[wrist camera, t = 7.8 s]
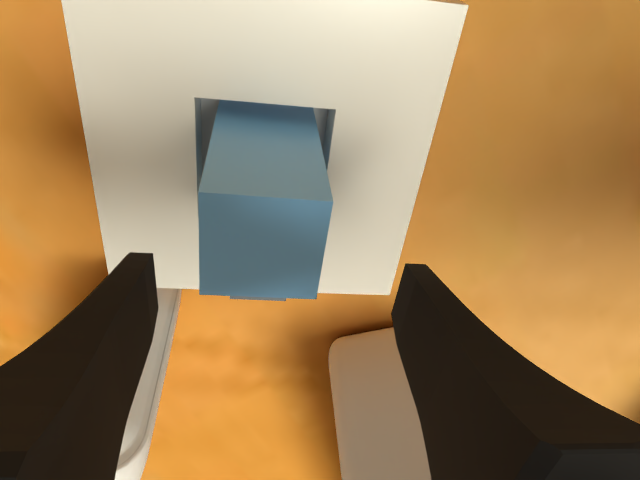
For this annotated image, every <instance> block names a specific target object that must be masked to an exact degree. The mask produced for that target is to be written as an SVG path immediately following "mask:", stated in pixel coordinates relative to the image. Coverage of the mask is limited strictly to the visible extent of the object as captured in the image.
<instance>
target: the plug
mask: <svg viewBox="0 0 640 480" xmlns="http://www.w3.org/2000/svg"><path fill="white" fill-rule="evenodd" d="M332 207H333V198H332V193H331V188H330V184H329V179H328V174H327V170H326V165H325V160H324V156H323V151H322V146H321V142H320V137H319V132H318V128H317V123H316V119H315V114H314V109H313V107H301V106H290V105H278V104H267V103H255V102H244V101H232V100H221V99H220V100H219V104H218V109H217V113H216V117H215V122H214V126H213V130H212V135H211V139H210V143H209V148H208V152H207V156H206V161H205V165H204V169H203V174H202V178H201V182H200V187H199V191H198V214H199V295H223V296H230V299H248V300H274V301H286V298H298V299H316V298H317V292H318V286H319V281H320V275H321V269H322V264H323V258H324V252H325V247H326V241H327V235H328V230H329V224H330V218H331V212H332Z"/></svg>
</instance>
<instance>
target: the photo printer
mask: <svg viewBox="0 0 640 480" xmlns="http://www.w3.org/2000/svg"><path fill="white" fill-rule="evenodd" d="M181 291H182V289H175V288H157V297H158V307H159V308H158V314H157V320H156V325H155V330H154V336H153V340H152V344H151V347H150V350H149V353H148V356H147V360H146V363H145V366H144V369H143V372H142V375H141V378H140V381H139V384H138V387H137V390H136V393H135V397H134V400H133V403H132V406H131V409H130V412H129V416H128V419H127V423H126V427H125V431H124V436H123V441H122V445H121V450H120V455H119V460H118V465H117V470H116V475H115V480H140V479H141V476H142V473H143V470H144V467H145V464H146V461H147V457H148V453H149V448H150V444H151V439H152V434H153V430H154V425H155V421H156V416H157V411H158V407H159V402H160V397H161V393H162V388H163V384H164V379H165V374H166V370H167V365H168V360H169V356H170V351H171V346H172V341H173V336H174V332H175V327H176V322H177V317H178V312H179V306H180V301H181Z"/></svg>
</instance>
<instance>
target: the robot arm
mask: <svg viewBox="0 0 640 480" xmlns="http://www.w3.org/2000/svg"><path fill="white" fill-rule="evenodd" d="M158 308H159V307H158V297H157V287H156V277H155V267H154V258H153V253H137V252H130V253H128V254H127V255H126V256H125V257H124V258H123V259H122V261H121V262H120V263H119V264H118V265H117V266H116V267H115V268H114V269H113V270H112V272H111V273H110V274H109V275H108V276H107V277H106V278H105V279H104V280H103V281H102V282H101V283H100V284H99V285H98V286H97V287H96V288H95V289H94V290H93V291H92V292H91V293H90V294H89V295H88V296H87V297H86V298H85V299H84V300H83V301H82V302H81V303H80V304H79V305H78V306H77V307H76V308H75V309H74V310H73V311H72V312H70V313H69V314H68V315H67V316H66V317H65V318H64V319H63V320H62V321H60V322H59V323H58V324H57V325H56V326H55V327H53V328H52V329H51V330H50V331H49V332H47V333H46V334H45V335H44V336H42V337H41V338H40V339H39V340H37V341H36V342H35V343H33V344H32V345H31V346H29V347H28V348H27V349H25V350H24V351H23V352H21V353H20V354H18V355H17V356H15V357H14V358H12V359H11V360H9V361H8V362H6V363H5V364H3V365H2V366H0V480H115V475H116V470H117V465H118V460H119V455H120V450H121V445H122V441H123V436H124V431H125V427H126V423H127V419H128V416H129V412H130V409H131V406H132V403H133V400H134V397H135V393H136V390H137V387H138V384H139V381H140V378H141V375H142V372H143V369H144V366H145V363H146V360H147V356H148V353H149V350H150V347H151V344H152V340H153V336H154V330H155V325H156V320H157V314H158ZM391 315H392V321H393V328H394V333H395V339H396V344H397V348H398V351H399V354H400V358H401V361H402V364H403V367H404V371H405V374H406V377H407V380H408V383H409V386H410V390H411V393H412V396H413V399H414V402H415V405H416V409H417V412H418V416H419V420H420V423H421V428H422V433H423V438H424V443H425V448H426V453H427V458H428V464H429V469H430V475H431V480H640V424H638V423H636V422H634V421H632V420H630V419H628V418H626V417H624V416H622V415H620V414H618V413H616V412H614V411H612V410H610V409H608V408H606V407H604V406H602V405H600V404H598V403H596V402H594V401H592V400H591V399H589V398H587V397H585V396H584V395H582V394H580V393H578V392H577V391H575V390H573V389H572V388H570V387H568V386H567V385H565V384H563V383H562V382H560V381H558V380H557V379H555V378H554V377H552V376H551V375H549V374H548V373H546V372H545V371H543V370H542V369H540V368H539V367H537V366H536V365H535V364H533V363H532V362H530V361H529V360H528V359H526V358H525V357H524V356H522V355H521V354H520V353H518V352H517V351H516V350H514V349H513V348H512V347H511V346H509V345H508V344H507V343H506V342H504V341H503V340H502V339H501V338H500V337H498V336H497V335H496V334H495V333H494V332H493V331H492V330H490V329H489V328H488V327H487V326H486V325H485V324H484V323H483V322H482V321H480V320H479V319H478V318H477V317H476V316H475V315H474V314H473V313H472V312H471V311H470V310H469V309H468V308H467V307H466V306H465V305H464V304H463V303H462V302H461V301H460V300H459V299H458V298H457V297H456V296H455V295H454V294H453V293H452V292H451V291H450V290H449V288H448V287H447V286H446V285H445V284H444V283H443V282H442V281H441V280H440V279H439V278H438V277H437V276H436V275H435V274H434V273H433V272H432V270H431V269H430V268H429V267H428V266H427V265H426V264H405V267H404V271H403V274H402V278H401V282H400V285H399V289H398V292H397V296H396V299H395V303H394V306H393V310H392V313H391Z"/></svg>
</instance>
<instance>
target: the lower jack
mask: <svg viewBox="0 0 640 480" xmlns="http://www.w3.org/2000/svg"><path fill="white" fill-rule="evenodd" d="M61 1H62V7H63V13H64V19H65V24H66V30H67V36H68V42H69V48H70V53H71V59H72V65H73V71H74V77H75V83H76V88H77V94H78V100H79V106H80V112H81V117H82V123H83V129H84V135H85V141H86V147H87V152H88V158H89V164H90V170H91V176H92V181H93V187H94V193H95V199H96V205H97V211H98V216H99V222H100V228H101V234H102V240H103V245H104V251H105V257H106V263H107V269H108V275H109V274H110V273H111V272H112V270H113V269H114V268H115V267H116V266H117V265H118V264H119V263H120V262H121V261H122V259H123V258H124V257H125V256H126V255H127V254H128V253H130V252H137V253H153V258H154V267H155V277H156V287H157V288H175V289H199V214H198V191H199V187H200V182H201V178H202V174H203V169H204V165H205V161H206V156H207V152H208V148H209V143H210V139H211V135H212V130H213V126H214V122H215V117H216V113H217V109H218V104H219V100H220V99H221V100H232V101H244V102H255V103H267V104H278V105H290V106H301V107H313V109H314V114H315V119H316V123H317V128H318V132H319V137H320V142H321V146H322V151H323V156H324V160H325V165H326V170H327V174H328V179H329V184H330V188H331V193H332V198H333V207H332V212H331V218H330V224H329V230H328V235H327V241H326V247H325V252H324V258H323V264H322V269H321V275H320V281H319V286H318V292H317V293H337V294H370V295H390V292H391V288H392V284H393V281H394V277H395V273H396V270H397V266H398V262H399V259H400V255H401V251H402V248H403V244H404V240H405V237H406V233H407V229H408V226H409V222H410V218H411V215H412V211H413V207H414V204H415V200H416V197H417V193H418V189H419V186H420V182H421V178H422V175H423V171H424V167H425V164H426V160H427V156H428V153H429V149H430V145H431V142H432V138H433V134H434V131H435V127H436V123H437V120H438V116H439V112H440V109H441V105H442V101H443V98H444V94H445V90H446V87H447V83H448V79H449V76H450V72H451V68H452V65H453V61H454V57H455V54H456V50H457V46H458V43H459V39H460V35H461V32H462V28H463V25H464V21H465V17H466V14H467V10H468V6H469V5H467V4H465V3H463V2H462V1H460V0H61Z"/></svg>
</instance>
